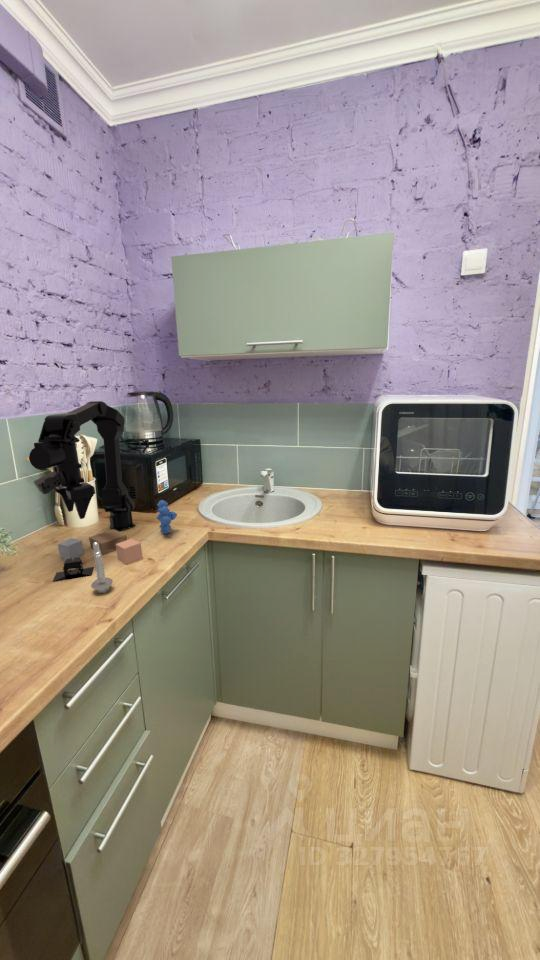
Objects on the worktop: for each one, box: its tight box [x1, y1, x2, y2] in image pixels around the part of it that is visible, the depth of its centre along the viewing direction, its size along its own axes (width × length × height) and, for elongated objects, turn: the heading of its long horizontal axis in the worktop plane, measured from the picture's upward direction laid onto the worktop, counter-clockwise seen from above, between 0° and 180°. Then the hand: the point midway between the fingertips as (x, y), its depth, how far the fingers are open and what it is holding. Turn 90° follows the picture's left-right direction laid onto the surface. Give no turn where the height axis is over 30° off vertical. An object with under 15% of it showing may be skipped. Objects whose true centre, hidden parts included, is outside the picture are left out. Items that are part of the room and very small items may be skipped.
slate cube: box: [57, 537, 84, 560], centre depth 117 cm, size 4×4×4 cm
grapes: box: [156, 499, 178, 535], centre depth 130 cm, size 12×7×12 cm, turn 21°
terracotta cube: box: [116, 538, 144, 566], centre depth 113 cm, size 5×5×5 cm
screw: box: [90, 542, 114, 594], centre depth 96 cm, size 13×5×5 cm
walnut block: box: [88, 528, 128, 556], centre depth 122 cm, size 8×8×4 cm
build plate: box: [51, 556, 95, 583], centre depth 106 cm, size 12×7×5 cm, turn 107°
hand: (76, 514), depth 113 cm, fingers open, 9 cm apart
